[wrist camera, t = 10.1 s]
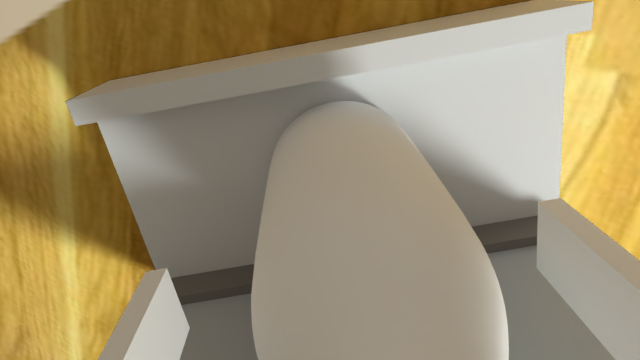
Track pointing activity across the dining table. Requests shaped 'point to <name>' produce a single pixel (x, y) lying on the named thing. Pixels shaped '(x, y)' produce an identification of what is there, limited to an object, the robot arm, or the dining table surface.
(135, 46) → the dining table surface
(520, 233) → the board
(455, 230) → the milk bottle
